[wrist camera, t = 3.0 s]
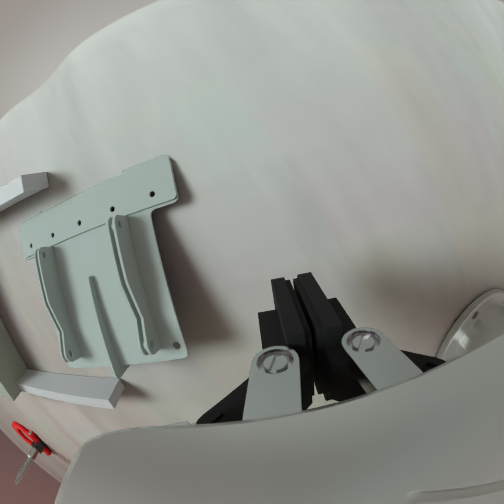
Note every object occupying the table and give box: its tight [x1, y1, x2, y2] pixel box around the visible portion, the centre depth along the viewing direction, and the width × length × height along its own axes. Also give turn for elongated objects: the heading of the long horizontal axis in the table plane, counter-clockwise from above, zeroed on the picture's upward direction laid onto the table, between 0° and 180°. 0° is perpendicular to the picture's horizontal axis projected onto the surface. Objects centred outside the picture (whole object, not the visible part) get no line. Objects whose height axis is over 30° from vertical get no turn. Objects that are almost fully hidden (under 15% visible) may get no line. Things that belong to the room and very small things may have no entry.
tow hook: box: [12, 422, 51, 485], centre depth 22 cm, size 8×13×9 cm
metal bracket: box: [20, 155, 188, 379], centre depth 17 cm, size 14×6×15 cm
